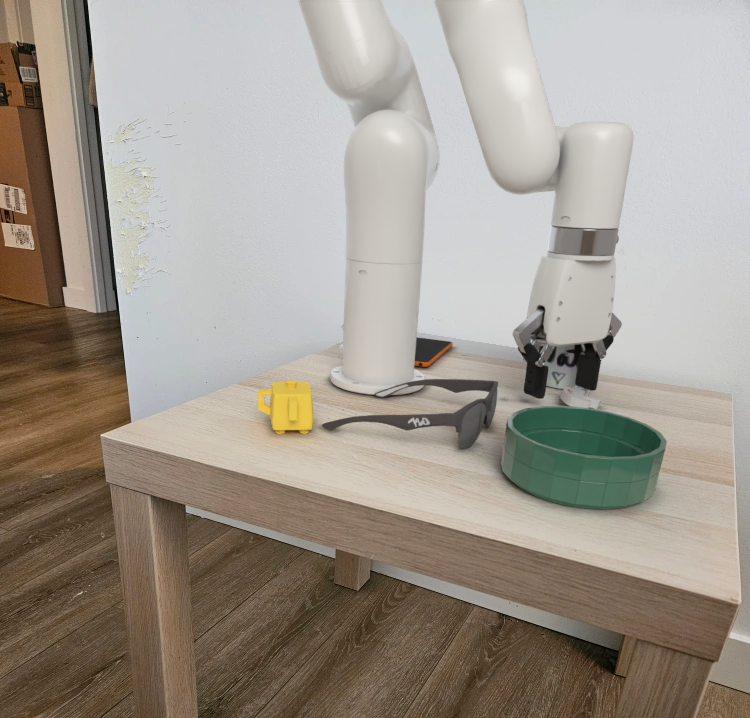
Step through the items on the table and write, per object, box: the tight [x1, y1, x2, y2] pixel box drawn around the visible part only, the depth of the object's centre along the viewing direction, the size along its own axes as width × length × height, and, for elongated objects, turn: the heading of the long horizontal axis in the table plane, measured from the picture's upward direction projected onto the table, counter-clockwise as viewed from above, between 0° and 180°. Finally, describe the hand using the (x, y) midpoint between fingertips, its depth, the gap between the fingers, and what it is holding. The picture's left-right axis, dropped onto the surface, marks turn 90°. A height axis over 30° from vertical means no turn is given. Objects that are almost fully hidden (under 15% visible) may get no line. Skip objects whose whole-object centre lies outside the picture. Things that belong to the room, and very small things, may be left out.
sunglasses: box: [321, 378, 499, 450], centre depth 75 cm, size 16×17×5 cm
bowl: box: [500, 405, 668, 510], centre depth 63 cm, size 14×14×5 cm
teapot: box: [257, 379, 314, 435], centre depth 71 cm, size 8×6×5 cm
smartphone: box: [414, 336, 454, 368], centre depth 106 cm, size 8×17×1 cm, turn 161°
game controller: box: [505, 385, 602, 410], centre depth 84 cm, size 6×12×3 cm, turn 101°
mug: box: [538, 312, 615, 390], centre depth 95 cm, size 10×15×10 cm
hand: (560, 391), depth 85 cm, fingers open, 8 cm apart
